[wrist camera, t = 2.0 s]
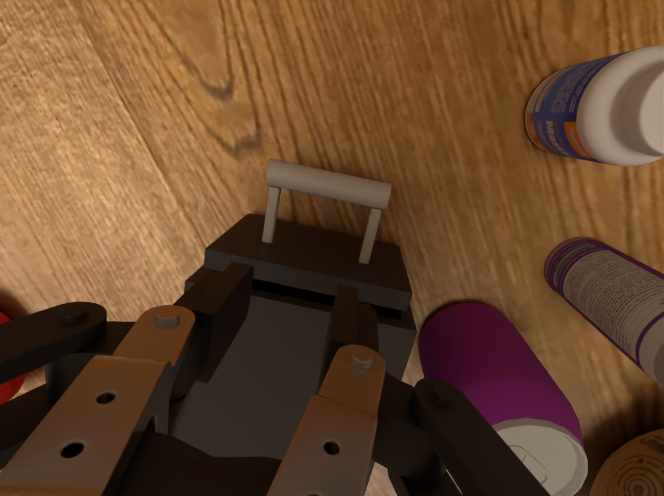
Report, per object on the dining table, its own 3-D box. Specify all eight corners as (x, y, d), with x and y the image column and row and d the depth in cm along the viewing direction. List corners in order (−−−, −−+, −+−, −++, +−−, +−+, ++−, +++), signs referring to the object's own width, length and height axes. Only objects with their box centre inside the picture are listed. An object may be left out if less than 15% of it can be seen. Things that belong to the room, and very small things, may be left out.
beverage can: (397, 331, 30) (417, 457, 19) (478, 279, 28) (554, 386, 17) (450, 392, 32) (498, 542, 21) (531, 347, 30) (633, 487, 18)
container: (621, 273, 27) (901, 442, 13) (561, 305, 28) (756, 491, 14) (594, 224, 26) (865, 349, 12) (532, 259, 27) (712, 410, 13)
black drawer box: (241, 229, 28) (184, 280, 19) (400, 263, 28) (417, 331, 19) (224, 379, 33) (172, 475, 24) (359, 408, 33) (357, 516, 24)
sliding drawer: (256, 144, 25) (212, 155, 18) (418, 179, 25) (440, 203, 18) (230, 361, 32) (189, 435, 24) (359, 390, 31) (357, 472, 24)
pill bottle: (505, 132, 25) (589, 140, 15) (556, 50, 23) (685, 4, 14) (575, 168, 25) (697, 197, 16) (630, 90, 23) (804, 71, 14)
